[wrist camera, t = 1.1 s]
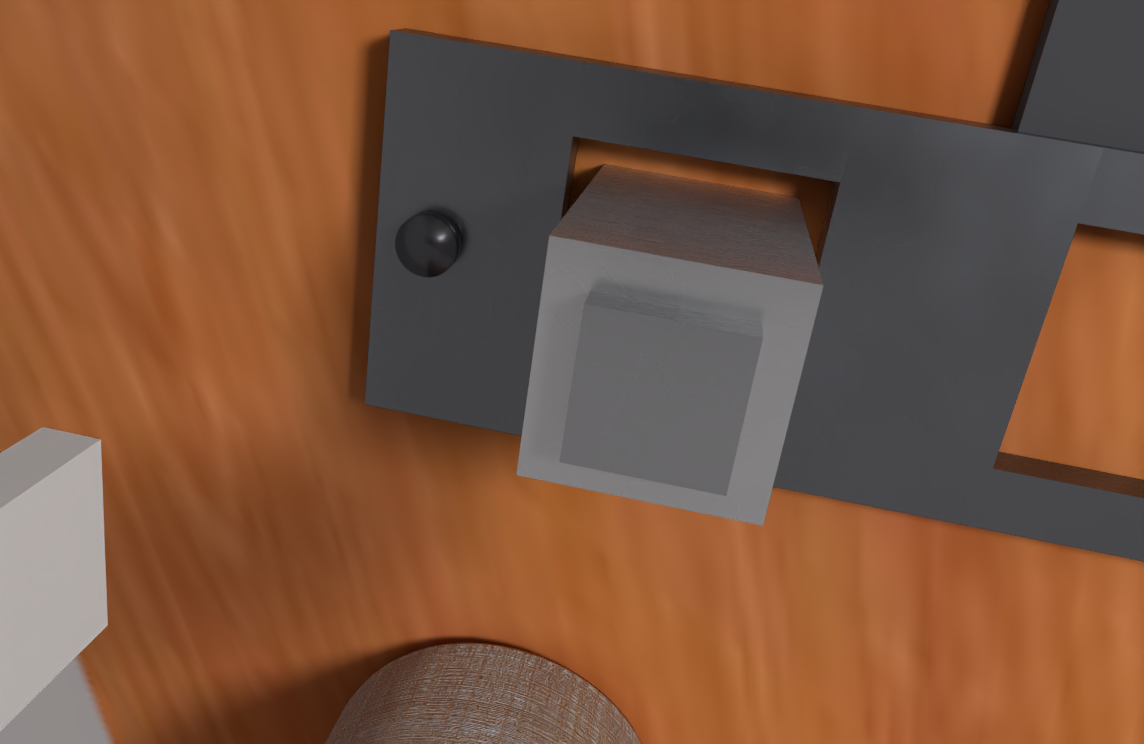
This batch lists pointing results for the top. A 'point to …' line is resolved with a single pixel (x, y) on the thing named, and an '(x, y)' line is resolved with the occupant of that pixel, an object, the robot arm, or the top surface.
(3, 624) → the robot arm
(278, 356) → the top surface
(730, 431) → the grey square block
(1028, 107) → the rubber mat
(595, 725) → the planter
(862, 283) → the rack rail
